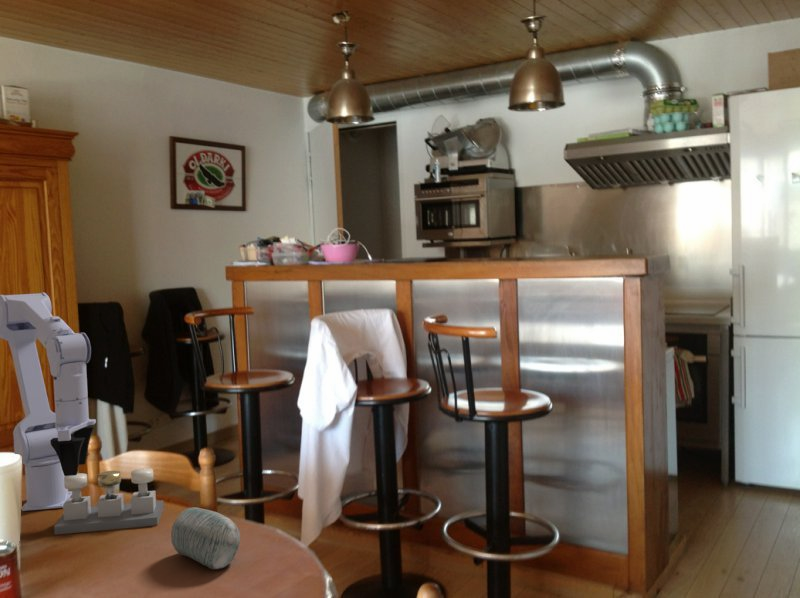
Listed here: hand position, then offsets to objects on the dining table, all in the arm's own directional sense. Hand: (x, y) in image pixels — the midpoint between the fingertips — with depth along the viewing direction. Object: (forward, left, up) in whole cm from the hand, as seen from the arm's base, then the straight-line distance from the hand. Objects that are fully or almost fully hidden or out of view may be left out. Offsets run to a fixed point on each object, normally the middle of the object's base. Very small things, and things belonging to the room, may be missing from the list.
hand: (75, 469), depth 143 cm
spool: (+24, +25, -11) cm, 36 cm away
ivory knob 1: (0, 0, -6) cm, 6 cm away
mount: (0, +6, -10) cm, 12 cm away
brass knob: (0, +6, -6) cm, 9 cm away
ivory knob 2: (0, +12, -6) cm, 13 cm away
